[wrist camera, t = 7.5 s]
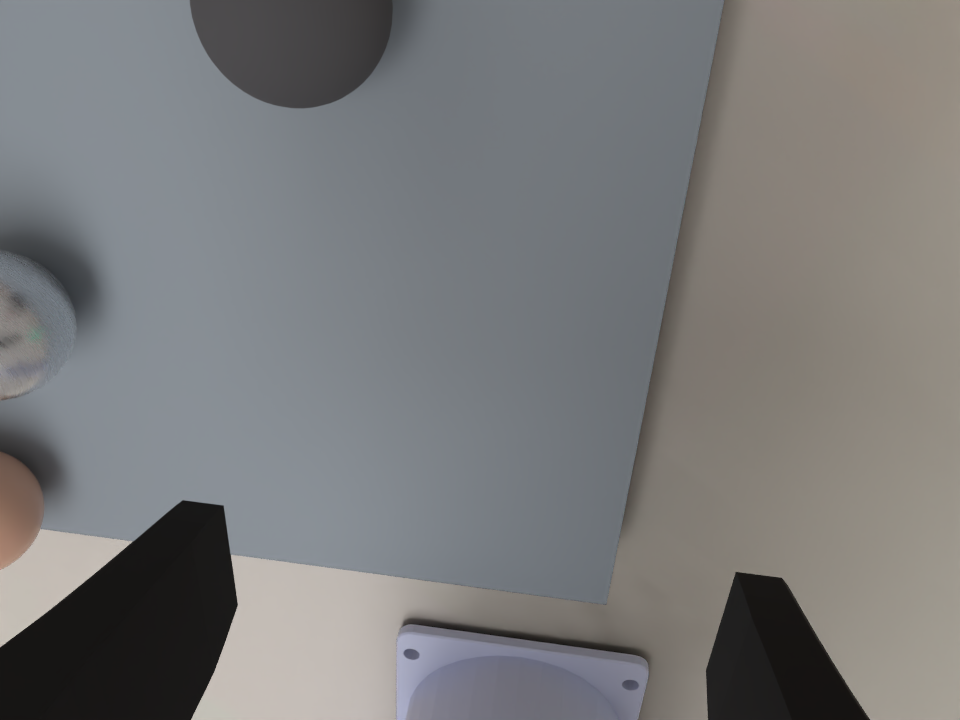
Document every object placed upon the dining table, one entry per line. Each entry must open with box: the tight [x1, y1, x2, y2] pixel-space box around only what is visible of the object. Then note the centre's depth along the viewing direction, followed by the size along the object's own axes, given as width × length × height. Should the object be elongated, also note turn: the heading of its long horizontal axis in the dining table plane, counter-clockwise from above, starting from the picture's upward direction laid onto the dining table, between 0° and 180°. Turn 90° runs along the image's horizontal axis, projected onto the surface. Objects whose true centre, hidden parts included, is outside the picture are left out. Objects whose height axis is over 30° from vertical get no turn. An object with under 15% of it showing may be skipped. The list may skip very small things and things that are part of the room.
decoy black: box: [190, 0, 393, 109], centre depth 14 cm, size 3×3×3 cm
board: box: [0, 0, 724, 605], centre depth 19 cm, size 16×22×4 cm
